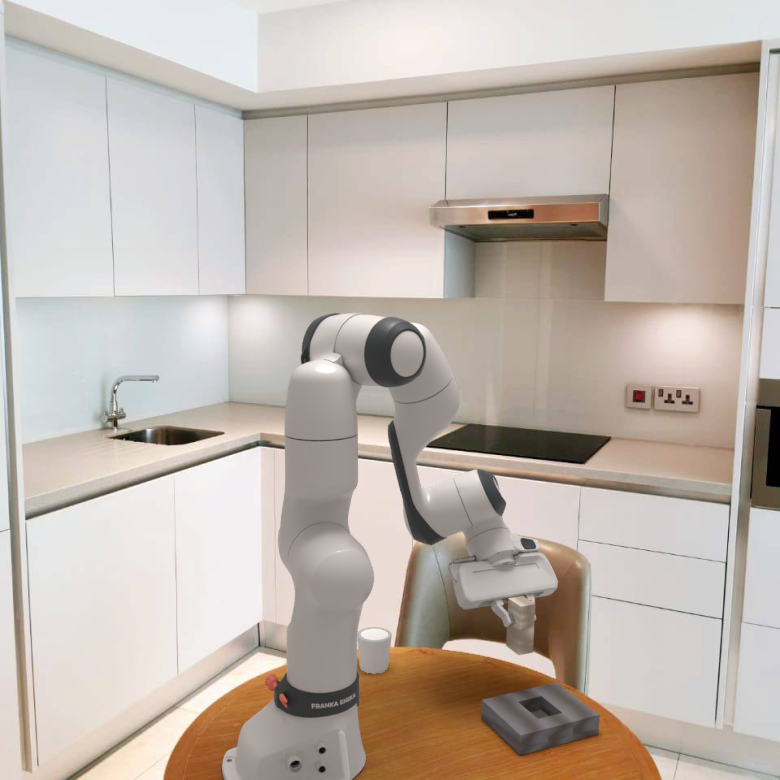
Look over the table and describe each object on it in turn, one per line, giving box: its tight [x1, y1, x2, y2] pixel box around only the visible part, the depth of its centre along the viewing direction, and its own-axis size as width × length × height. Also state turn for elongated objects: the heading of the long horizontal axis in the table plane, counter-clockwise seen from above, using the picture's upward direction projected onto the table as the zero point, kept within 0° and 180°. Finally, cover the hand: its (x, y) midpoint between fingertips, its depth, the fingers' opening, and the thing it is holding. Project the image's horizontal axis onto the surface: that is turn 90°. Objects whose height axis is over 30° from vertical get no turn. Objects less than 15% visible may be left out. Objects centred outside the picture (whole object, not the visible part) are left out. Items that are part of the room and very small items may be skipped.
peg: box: [505, 596, 536, 656], centre depth 139 cm, size 3×4×9 cm
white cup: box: [357, 626, 393, 675], centre depth 155 cm, size 7×7×7 cm
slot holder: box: [480, 682, 601, 756], centre depth 135 cm, size 16×12×4 cm
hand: (521, 623), depth 139 cm, fingers closed on peg, 3 cm apart
